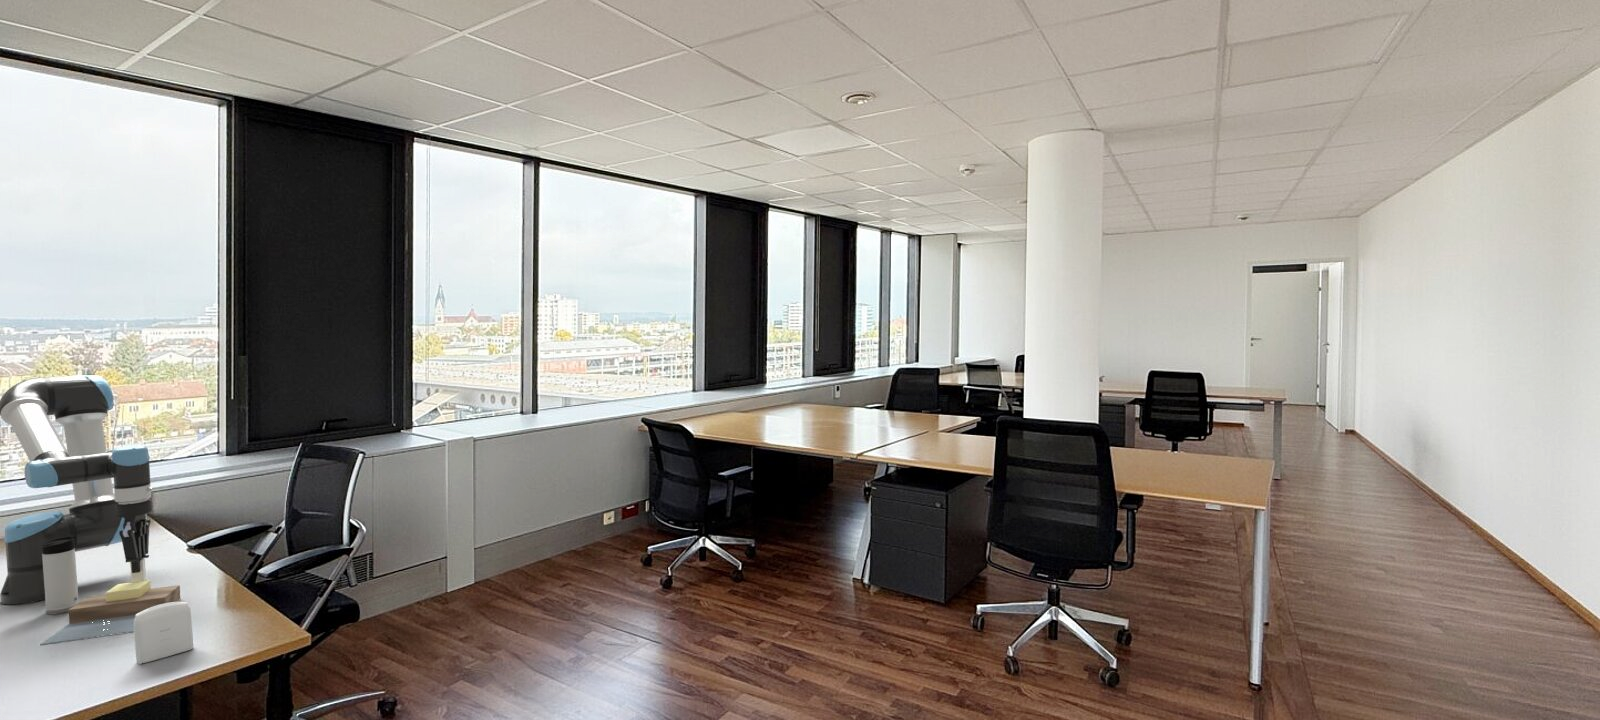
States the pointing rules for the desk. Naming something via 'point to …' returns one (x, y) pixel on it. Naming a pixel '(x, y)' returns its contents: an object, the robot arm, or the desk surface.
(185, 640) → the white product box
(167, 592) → the brown wooden block
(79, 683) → the desk surface
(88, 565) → the desk surface
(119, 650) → the desk surface
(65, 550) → the travel mug
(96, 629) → the rubber mat
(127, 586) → the note pad
